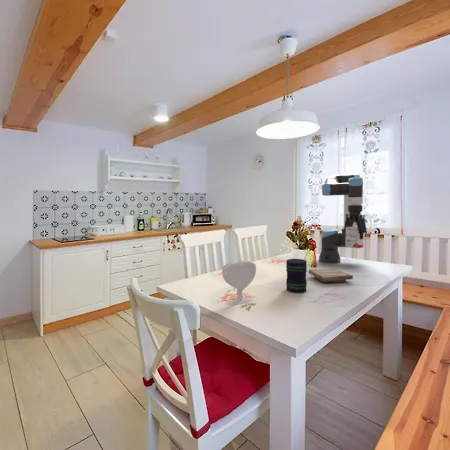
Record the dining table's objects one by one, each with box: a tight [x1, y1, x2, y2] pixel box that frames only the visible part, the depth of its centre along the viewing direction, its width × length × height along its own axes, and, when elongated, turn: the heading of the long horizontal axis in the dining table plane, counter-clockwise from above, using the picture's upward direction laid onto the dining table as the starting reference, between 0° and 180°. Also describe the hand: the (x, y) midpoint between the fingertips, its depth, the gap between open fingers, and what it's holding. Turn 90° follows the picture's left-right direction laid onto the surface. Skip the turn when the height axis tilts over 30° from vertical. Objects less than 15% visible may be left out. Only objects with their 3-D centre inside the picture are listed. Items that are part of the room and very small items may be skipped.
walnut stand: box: [308, 267, 354, 284], centre depth 153 cm, size 17×17×4 cm
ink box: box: [344, 227, 365, 249], centre depth 157 cm, size 8×5×12 cm, turn 40°
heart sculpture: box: [221, 259, 257, 307], centre depth 120 cm, size 16×5×18 cm, turn 118°
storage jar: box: [285, 258, 308, 294], centre depth 135 cm, size 10×10×15 cm
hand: (354, 243), depth 157 cm, fingers closed on ink box, 9 cm apart
